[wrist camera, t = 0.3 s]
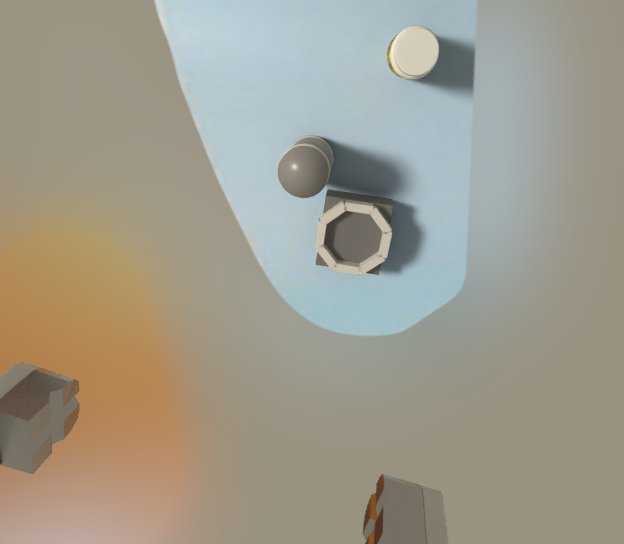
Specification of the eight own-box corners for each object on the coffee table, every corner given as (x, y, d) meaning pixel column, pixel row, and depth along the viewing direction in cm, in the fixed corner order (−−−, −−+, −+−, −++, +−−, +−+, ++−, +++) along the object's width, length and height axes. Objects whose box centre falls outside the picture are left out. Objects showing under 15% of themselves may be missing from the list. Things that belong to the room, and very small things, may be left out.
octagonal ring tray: (324, 188, 56) (321, 197, 52) (394, 199, 56) (397, 209, 52) (314, 255, 60) (311, 267, 56) (380, 266, 59) (382, 279, 55)
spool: (292, 131, 53) (279, 142, 45) (337, 138, 53) (332, 150, 45) (287, 176, 56) (274, 194, 47) (330, 183, 55) (325, 202, 47)
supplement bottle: (390, 28, 48) (395, 20, 40) (434, 31, 48) (448, 24, 40) (383, 76, 50) (387, 78, 42) (426, 80, 50) (438, 82, 42)
